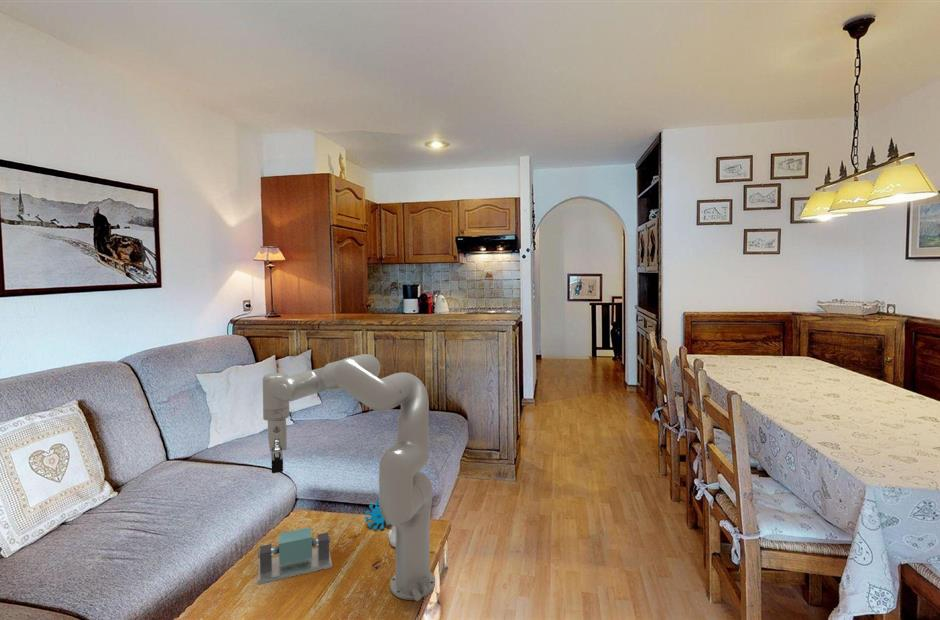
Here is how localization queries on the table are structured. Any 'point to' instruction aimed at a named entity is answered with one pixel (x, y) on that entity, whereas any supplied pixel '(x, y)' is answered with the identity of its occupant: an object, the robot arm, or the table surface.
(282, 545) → the teal block
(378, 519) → the blue lumpy piece
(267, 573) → the shaft rig
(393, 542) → the seated beast figurine
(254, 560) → the table surface
